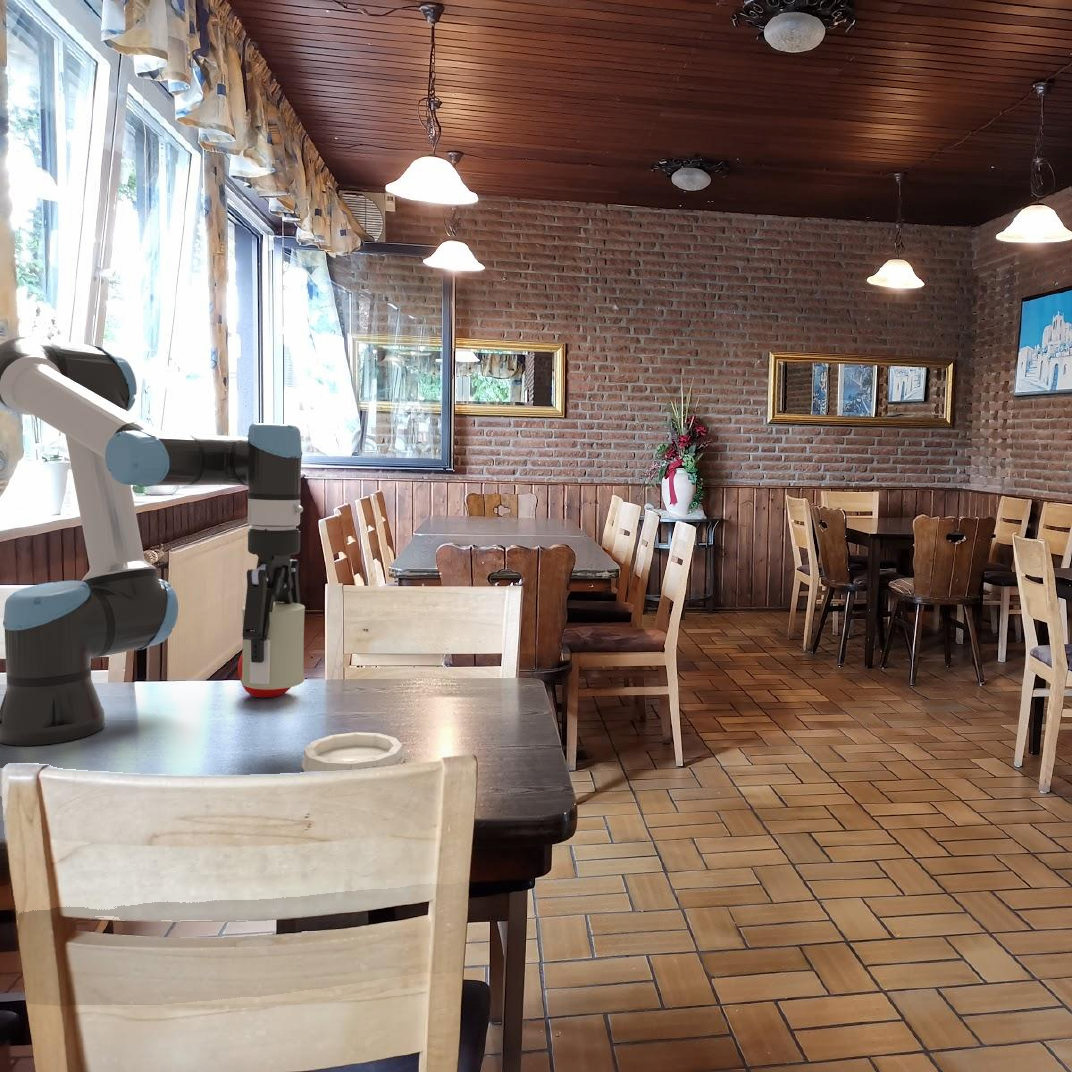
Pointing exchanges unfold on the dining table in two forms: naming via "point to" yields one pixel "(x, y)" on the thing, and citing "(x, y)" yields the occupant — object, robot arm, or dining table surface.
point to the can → (281, 648)
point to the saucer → (352, 752)
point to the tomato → (260, 691)
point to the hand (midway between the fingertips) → (273, 674)
